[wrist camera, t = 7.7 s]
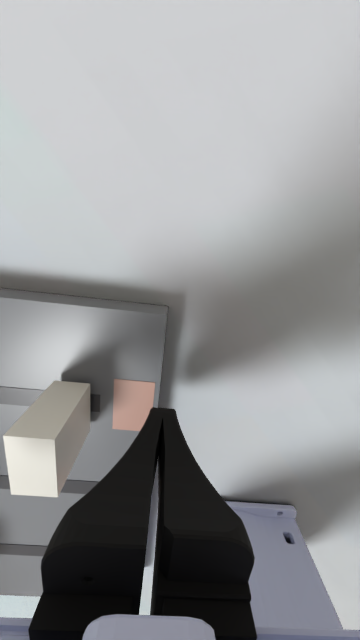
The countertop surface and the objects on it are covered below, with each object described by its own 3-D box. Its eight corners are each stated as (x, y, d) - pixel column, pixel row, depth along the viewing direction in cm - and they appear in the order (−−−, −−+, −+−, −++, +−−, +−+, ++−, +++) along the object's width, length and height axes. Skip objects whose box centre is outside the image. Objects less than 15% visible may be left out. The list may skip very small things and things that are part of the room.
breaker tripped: (90, 383, 13) (54, 439, 9) (90, 429, 14) (58, 497, 10) (54, 380, 13) (3, 435, 9) (56, 426, 14) (11, 494, 10)
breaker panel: (168, 306, 14) (167, 315, 12) (141, 569, 22) (137, 601, 20) (-140, 273, 13) (-195, 277, 11) (-56, 560, 21) (-81, 592, 19)
